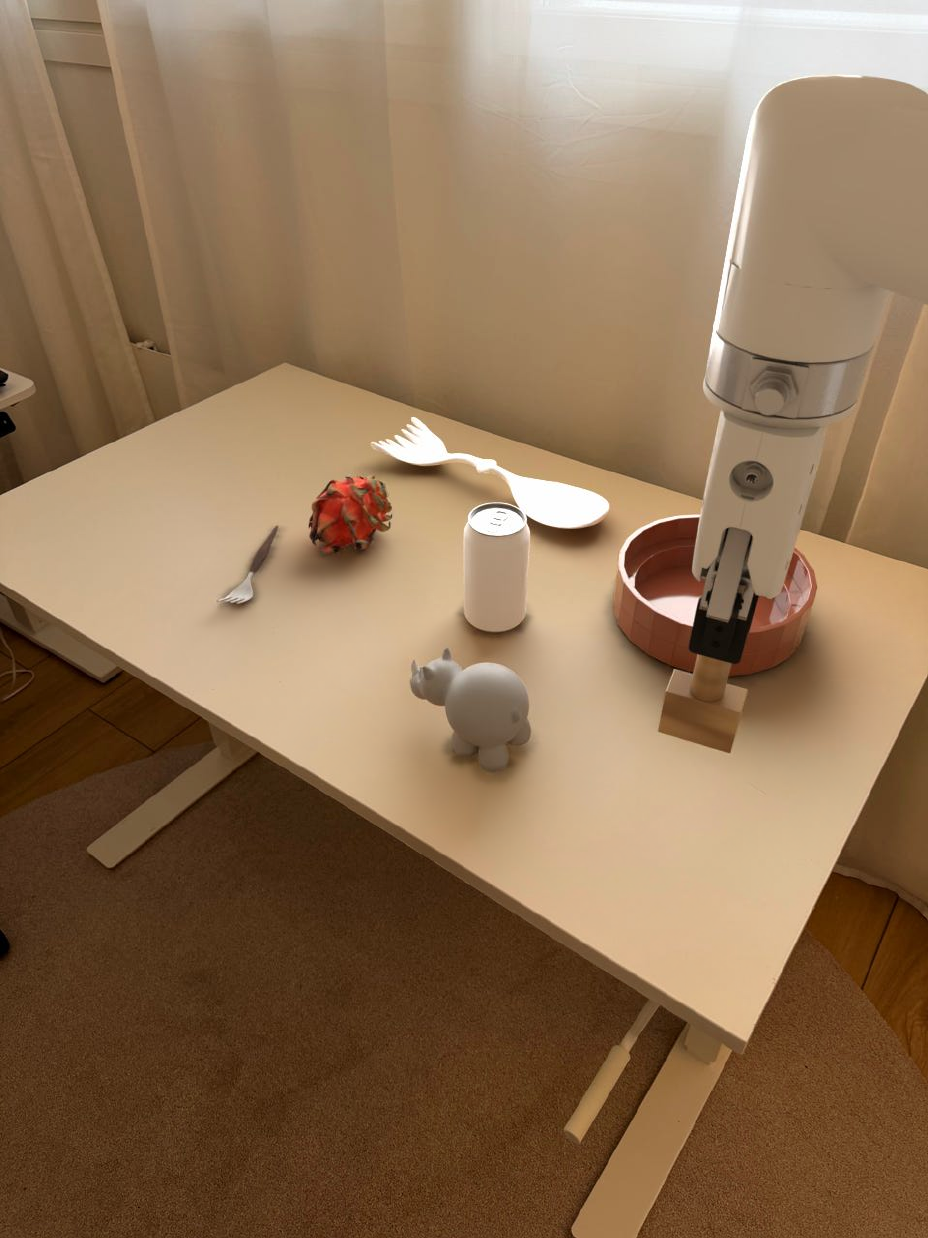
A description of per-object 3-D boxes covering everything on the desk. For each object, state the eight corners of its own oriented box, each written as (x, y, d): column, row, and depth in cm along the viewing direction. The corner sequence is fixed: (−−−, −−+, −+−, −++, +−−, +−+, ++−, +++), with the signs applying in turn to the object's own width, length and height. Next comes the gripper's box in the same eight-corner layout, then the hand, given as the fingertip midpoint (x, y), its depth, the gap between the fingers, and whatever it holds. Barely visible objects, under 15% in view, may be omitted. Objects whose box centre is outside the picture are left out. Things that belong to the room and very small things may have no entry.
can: (454, 625, 92) (452, 529, 84) (477, 588, 96) (477, 494, 88) (513, 641, 90) (517, 544, 82) (534, 603, 94) (540, 507, 86)
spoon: (413, 435, 121) (412, 412, 119) (620, 515, 107) (624, 490, 104) (369, 463, 116) (367, 439, 114) (581, 551, 101) (584, 525, 99)
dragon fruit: (396, 528, 108) (328, 588, 102) (347, 476, 107) (275, 533, 101) (421, 498, 100) (348, 561, 94) (368, 442, 100) (292, 502, 94)
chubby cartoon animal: (440, 679, 86) (438, 612, 80) (543, 738, 80) (548, 669, 74) (389, 723, 81) (383, 655, 76) (494, 788, 76) (496, 720, 70)
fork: (289, 530, 105) (286, 516, 103) (242, 617, 93) (238, 603, 91) (267, 528, 105) (265, 514, 104) (218, 615, 93) (214, 600, 92)
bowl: (814, 585, 96) (829, 540, 92) (784, 703, 83) (799, 656, 79) (641, 542, 102) (648, 498, 98) (587, 645, 89) (593, 599, 85)
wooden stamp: (736, 730, 62) (781, 569, 53) (730, 754, 60) (775, 593, 51) (666, 709, 64) (697, 550, 55) (657, 732, 62) (688, 572, 53)
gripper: (845, 457, 38) (756, 747, 50) (877, 319, 49) (798, 583, 61) (670, 424, 40) (626, 708, 52) (739, 299, 51) (689, 557, 63)
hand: (719, 639), depth 56 cm, fingers closed on wooden stamp, 2 cm apart
